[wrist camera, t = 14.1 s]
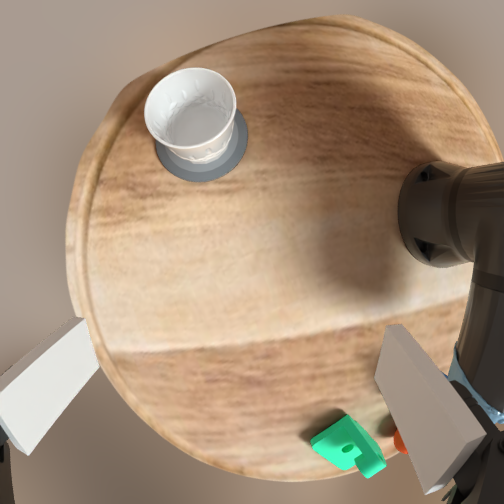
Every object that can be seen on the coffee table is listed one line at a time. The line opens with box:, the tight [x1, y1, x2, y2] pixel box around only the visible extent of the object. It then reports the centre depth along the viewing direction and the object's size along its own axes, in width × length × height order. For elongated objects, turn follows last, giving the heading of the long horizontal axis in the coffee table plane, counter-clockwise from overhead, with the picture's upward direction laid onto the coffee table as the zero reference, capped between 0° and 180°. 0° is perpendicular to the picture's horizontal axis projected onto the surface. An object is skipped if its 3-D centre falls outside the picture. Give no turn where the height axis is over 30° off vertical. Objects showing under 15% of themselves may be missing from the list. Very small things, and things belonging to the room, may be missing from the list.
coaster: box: [156, 108, 248, 182], centre depth 31 cm, size 11×11×1 cm
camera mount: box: [310, 414, 387, 478], centre depth 33 cm, size 12×8×10 cm, turn 39°
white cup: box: [144, 67, 236, 164], centre depth 26 cm, size 8×8×10 cm
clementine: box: [394, 428, 408, 454], centre depth 35 cm, size 8×7×7 cm
